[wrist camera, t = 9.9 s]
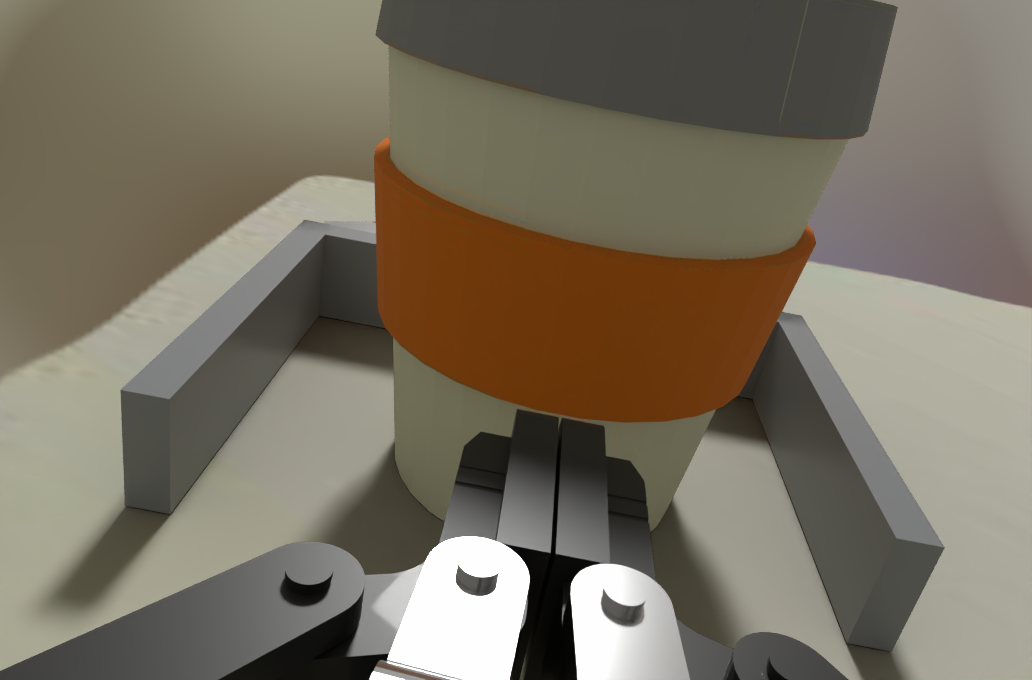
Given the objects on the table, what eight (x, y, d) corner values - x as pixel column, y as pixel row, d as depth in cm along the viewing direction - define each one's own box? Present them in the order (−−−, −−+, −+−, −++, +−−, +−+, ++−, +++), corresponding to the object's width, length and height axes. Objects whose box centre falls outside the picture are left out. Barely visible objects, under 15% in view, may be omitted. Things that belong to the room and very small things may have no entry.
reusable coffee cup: (483, 337, 34) (552, -55, 28) (773, 467, 29) (941, 18, 22) (244, 457, 24) (267, -117, 18) (622, 688, 19) (850, -11, 12)
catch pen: (891, 651, 21) (944, 547, 20) (124, 505, 21) (120, 389, 20) (774, 390, 34) (801, 315, 33) (299, 299, 34) (304, 219, 33)
